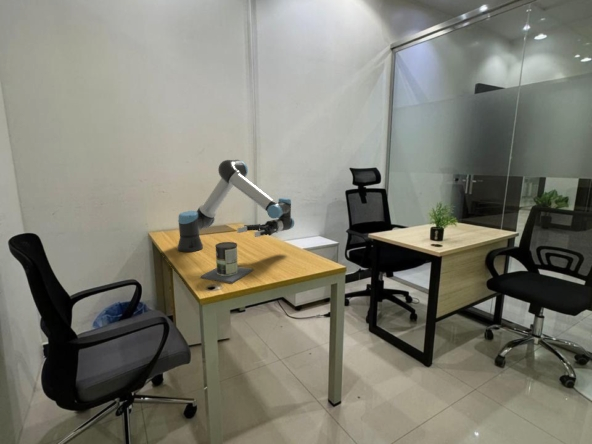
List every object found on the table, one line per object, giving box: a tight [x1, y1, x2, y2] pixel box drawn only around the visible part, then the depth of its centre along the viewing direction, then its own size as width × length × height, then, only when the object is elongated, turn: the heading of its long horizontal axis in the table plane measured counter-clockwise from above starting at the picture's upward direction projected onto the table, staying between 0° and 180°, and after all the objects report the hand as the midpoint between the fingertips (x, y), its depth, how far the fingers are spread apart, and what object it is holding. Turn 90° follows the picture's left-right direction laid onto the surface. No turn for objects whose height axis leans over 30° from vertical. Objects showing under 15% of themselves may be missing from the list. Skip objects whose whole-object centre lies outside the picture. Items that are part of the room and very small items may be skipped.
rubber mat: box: [200, 266, 254, 284], centre depth 153 cm, size 18×18×1 cm
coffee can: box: [214, 241, 239, 276], centre depth 152 cm, size 10×10×14 cm
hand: (246, 232), depth 165 cm, fingers open, 13 cm apart
